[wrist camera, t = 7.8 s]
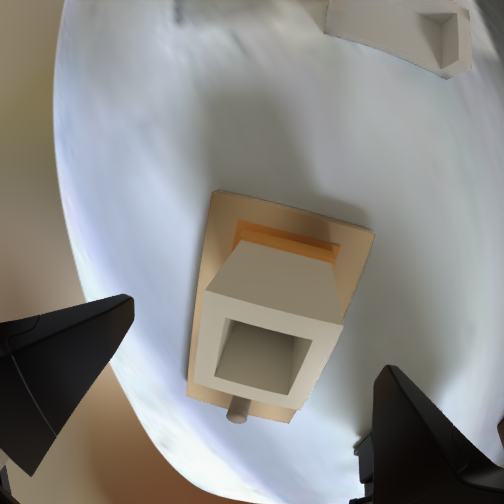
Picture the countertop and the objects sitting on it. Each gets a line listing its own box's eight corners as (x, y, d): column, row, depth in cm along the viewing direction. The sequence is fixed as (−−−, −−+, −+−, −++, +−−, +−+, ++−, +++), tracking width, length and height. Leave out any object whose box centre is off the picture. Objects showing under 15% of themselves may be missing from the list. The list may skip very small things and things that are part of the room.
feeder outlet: (447, 27, 8) (468, 10, 5) (446, 79, 9) (471, 67, 7) (333, -17, 9) (336, -44, 6) (323, 33, 10) (327, 8, 7)
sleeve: (332, 251, 13) (351, 322, 7) (306, 325, 14) (303, 413, 9) (244, 228, 13) (200, 283, 7) (229, 304, 15) (189, 383, 9)
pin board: (370, 229, 13) (393, 256, 9) (290, 413, 18) (284, 455, 15) (218, 189, 14) (187, 202, 10) (190, 387, 19) (172, 424, 15)
